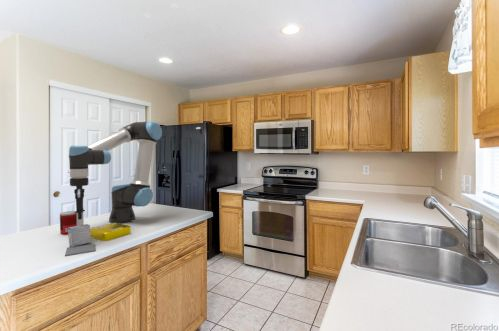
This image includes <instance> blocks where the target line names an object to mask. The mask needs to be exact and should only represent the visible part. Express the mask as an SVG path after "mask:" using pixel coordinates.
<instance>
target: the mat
mask: <svg viewBox="0 0 499 331" xmlns="http://www.w3.org/2000/svg"><path fill="white" fill-rule="evenodd" d="M93 252H96V243H87V244H82V245H78V246H74V247H71V246H69V247H66V250H65V254H64V257H71V256H75V255H81V254H87V253H93Z"/></svg>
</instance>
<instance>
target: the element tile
mask: <svg viewBox="0 0 499 331" xmlns="http://www.w3.org/2000/svg"><path fill="white" fill-rule="evenodd" d="M131 233H132V232H131V226H130V225H128V224H124V223H107V224H103V225H99V226H94V227H92V228H91V227H90V234H91V239H96V240H100V241H103V242H108V241H111V240H115V239H117V238H122V237H124V236H127V235H131Z"/></svg>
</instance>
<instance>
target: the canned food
mask: <svg viewBox="0 0 499 331" xmlns="http://www.w3.org/2000/svg"><path fill="white" fill-rule="evenodd" d="M75 212H76V210H70V211H69V210H68V211H67V210H66V211H63V212H61V213H59V227H60V228H59V229H60V234H61V235H63V236H65V235H68V228H70V227H75V226H77V213H75Z"/></svg>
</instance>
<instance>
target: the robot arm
mask: <svg viewBox="0 0 499 331" xmlns="http://www.w3.org/2000/svg"><path fill="white" fill-rule="evenodd" d="M162 136H163V130H162V127H161V126H160V124H159V123H158V122H156V121H152V120H151V121H150V120H149V121H136V122H132V123H130V124H127V125H125V126H123V127H121V128H119V129H118V131H117V132H115V133H112V134H110V135H108V136H106V137H104V138H102V139H99V140H98V141H96V142H95V141H94V142H92V143H91V144H89V145H71V146H69V149H68V161H69V163H68V164H69V170H68V171H67V173H69V186H70V187H75V188H76V189H75V188H74V199H75V208H76V209H75V211H76V212H75V213H77V226H80V225H85V224H84V222H85V221H84V219H85V218H84V212H85V211H86V210H85V209H84V197H85V188H83V187H86V186H88V185H89V184H90V183H89V178H88V177H89V166H91V165H92V166H93V165H95V166H96V165H107V164H109V163H110V162H111V160H112V155H111V152H110V151H111V150H113V149H114V148H117V147H119V146H121V145H122V144H125V143H130V142H132V141H137V142H138V151H137V156H136V161H135V162H136V164H135V168H134V176H133V180H132V182H130V183H126V184H124V183H123V184H119V185H118V184H116V185H113V186H112V187H111V192H110V194H111V211H110V214H109V218H108V222H109V224H111V223H120V224H124V223H130V222H134V221H135V220H136V214H135V211H134V209H133V207H134V206H135V207H139V208H140V207H145V206H148V205H149V204H150V203H151V202H152V199H153V197H154V192H153V190H152V188H151V184H150V183H149V178H150V174H151V166H152V160H153V151H154V148H155V147H154V146H155V145H157V142H158V140H160V139H161V138H162Z"/></svg>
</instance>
